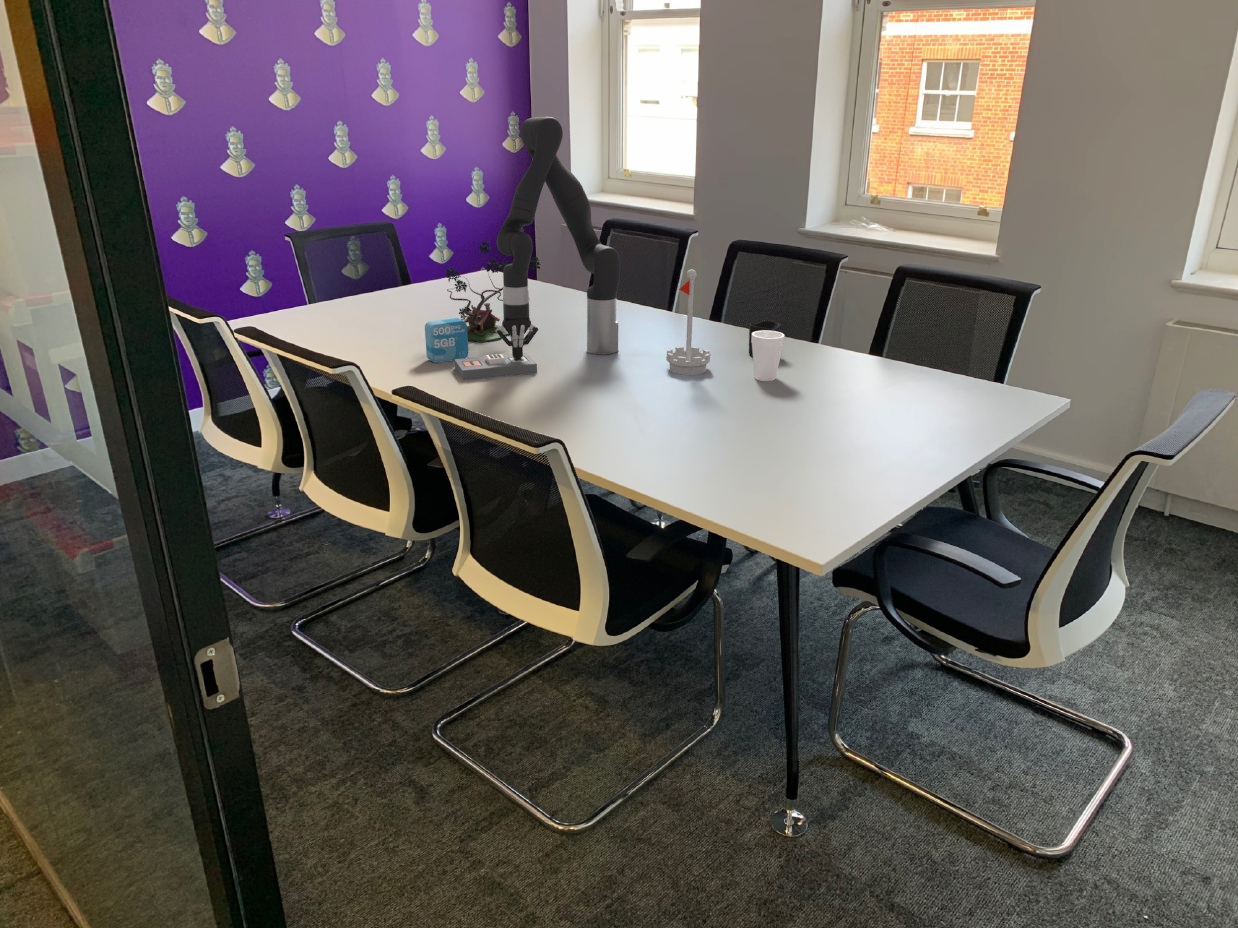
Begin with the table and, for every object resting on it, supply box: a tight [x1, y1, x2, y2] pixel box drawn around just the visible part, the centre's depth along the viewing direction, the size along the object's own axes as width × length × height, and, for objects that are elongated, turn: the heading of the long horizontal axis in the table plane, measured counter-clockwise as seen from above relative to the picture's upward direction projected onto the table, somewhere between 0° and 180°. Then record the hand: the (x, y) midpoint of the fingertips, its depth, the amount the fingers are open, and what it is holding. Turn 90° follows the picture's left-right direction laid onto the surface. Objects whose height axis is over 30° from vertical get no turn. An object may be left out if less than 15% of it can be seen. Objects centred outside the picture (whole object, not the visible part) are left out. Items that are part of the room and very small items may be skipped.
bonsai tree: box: [445, 240, 541, 343], centre depth 312 cm, size 35×24×32 cm
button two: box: [509, 357, 528, 362], centre depth 282 cm, size 5×5×3 cm
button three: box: [485, 353, 505, 365], centre depth 279 cm, size 5×5×3 cm
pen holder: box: [748, 320, 781, 357], centre depth 297 cm, size 9×9×10 cm
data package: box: [424, 317, 469, 364], centre depth 289 cm, size 12×4×12 cm, turn 123°
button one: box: [463, 361, 481, 367], centre depth 277 cm, size 5×5×3 cm
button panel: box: [454, 352, 538, 381], centre depth 279 cm, size 22×12×3 cm, turn 110°
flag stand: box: [666, 268, 711, 376], centre depth 278 cm, size 13×13×30 cm
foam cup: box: [751, 330, 785, 382], centre depth 274 cm, size 10×9×13 cm
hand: (517, 358), depth 281 cm, fingers closed
